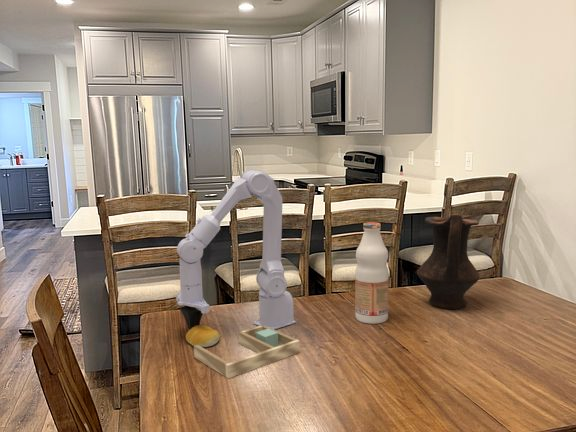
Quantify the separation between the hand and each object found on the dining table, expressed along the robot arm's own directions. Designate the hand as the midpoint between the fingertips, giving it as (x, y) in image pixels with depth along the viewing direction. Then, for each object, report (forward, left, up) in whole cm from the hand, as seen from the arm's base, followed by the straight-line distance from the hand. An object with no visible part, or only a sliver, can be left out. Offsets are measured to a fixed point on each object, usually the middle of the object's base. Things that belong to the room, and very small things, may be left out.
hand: (193, 332), depth 141 cm
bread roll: (0, +5, -1) cm, 5 cm away
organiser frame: (-3, +20, -1) cm, 20 cm away
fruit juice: (-45, +24, -1) cm, 51 cm away
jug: (-71, +32, -1) cm, 78 cm away
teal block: (-10, +20, -1) cm, 22 cm away
